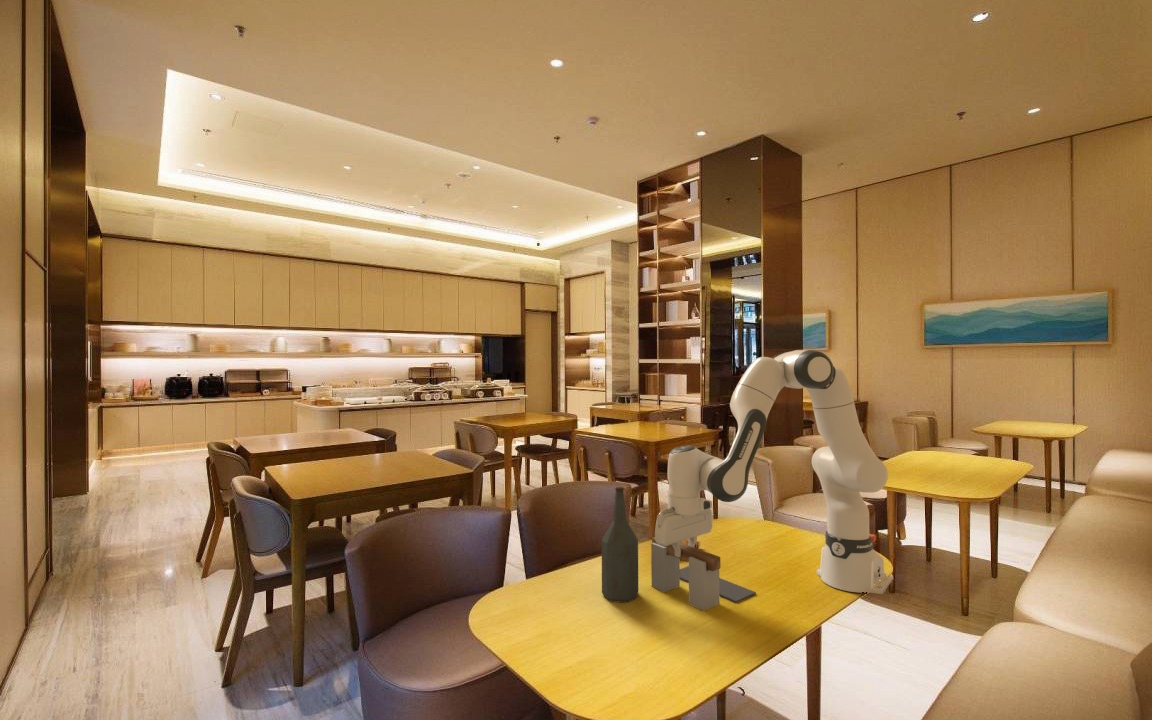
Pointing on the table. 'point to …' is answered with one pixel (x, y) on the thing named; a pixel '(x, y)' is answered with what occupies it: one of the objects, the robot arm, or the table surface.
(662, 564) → the post
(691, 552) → the rail
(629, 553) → the bottle
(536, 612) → the table surface
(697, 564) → the post
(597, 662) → the table surface
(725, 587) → the mat
